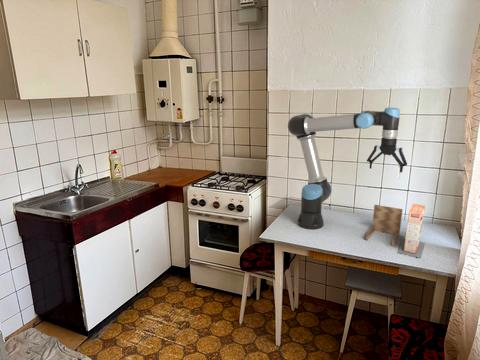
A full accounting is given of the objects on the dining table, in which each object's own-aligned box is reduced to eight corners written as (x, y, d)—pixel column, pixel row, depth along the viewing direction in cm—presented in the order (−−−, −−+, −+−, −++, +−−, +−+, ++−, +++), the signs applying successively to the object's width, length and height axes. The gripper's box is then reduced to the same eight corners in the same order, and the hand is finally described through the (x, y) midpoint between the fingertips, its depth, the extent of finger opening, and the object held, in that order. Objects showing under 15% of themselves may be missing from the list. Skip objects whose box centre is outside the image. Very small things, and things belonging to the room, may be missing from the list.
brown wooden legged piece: (365, 240, 184) (367, 213, 180) (372, 229, 197) (374, 204, 193) (394, 246, 176) (397, 218, 172) (399, 234, 189) (402, 209, 185)
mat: (397, 253, 169) (397, 252, 169) (403, 239, 184) (403, 238, 184) (420, 258, 164) (420, 257, 164) (424, 244, 178) (424, 242, 178)
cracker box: (416, 254, 166) (422, 214, 161) (403, 251, 170) (408, 211, 164) (420, 243, 178) (425, 205, 172) (407, 240, 181) (412, 203, 175)
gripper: (363, 136, 187) (359, 174, 193) (414, 140, 173) (408, 181, 179) (367, 134, 193) (363, 171, 199) (416, 138, 179) (411, 177, 185)
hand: (384, 176), depth 189 cm, fingers open, 13 cm apart
